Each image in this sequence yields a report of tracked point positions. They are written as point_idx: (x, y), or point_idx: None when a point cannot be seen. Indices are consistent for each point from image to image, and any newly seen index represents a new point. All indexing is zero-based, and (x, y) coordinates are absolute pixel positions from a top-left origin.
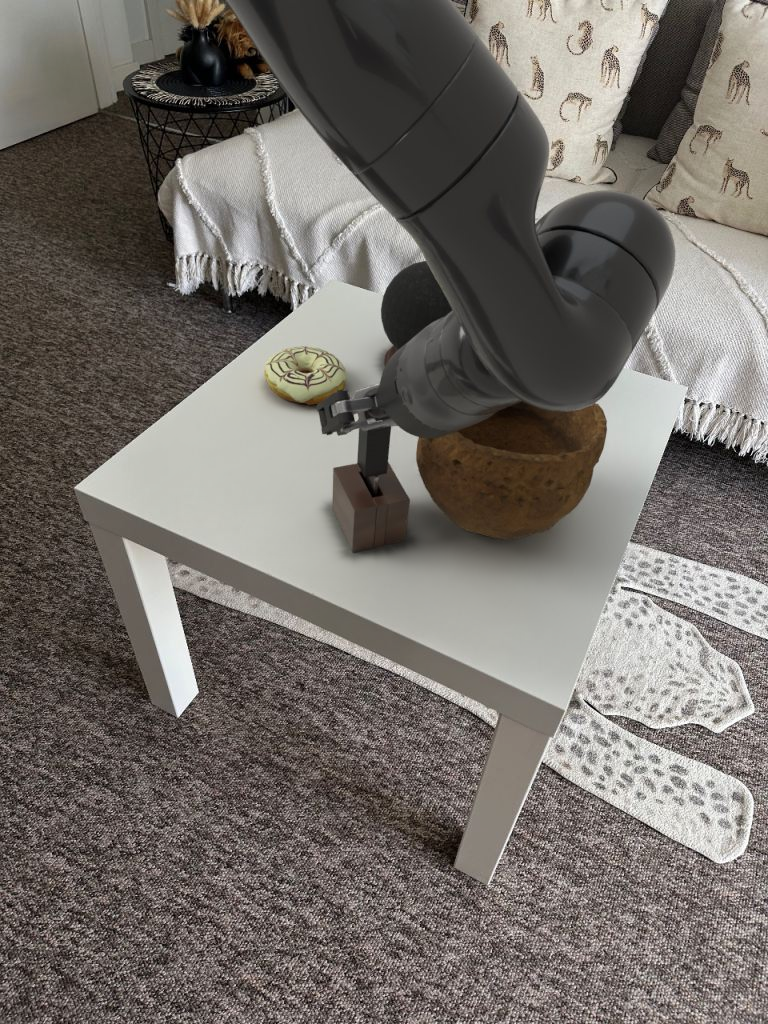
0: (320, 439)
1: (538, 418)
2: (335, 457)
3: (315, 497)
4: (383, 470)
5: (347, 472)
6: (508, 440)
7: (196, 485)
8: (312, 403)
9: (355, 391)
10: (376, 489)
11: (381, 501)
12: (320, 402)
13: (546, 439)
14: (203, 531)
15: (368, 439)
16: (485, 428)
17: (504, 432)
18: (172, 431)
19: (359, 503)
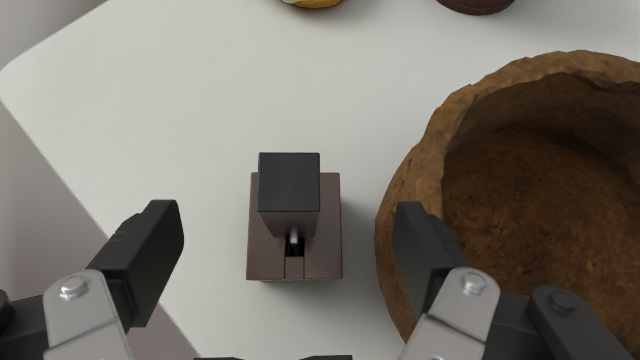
0: (291, 68)
1: (626, 179)
2: (299, 105)
3: (248, 168)
4: (307, 236)
5: None
6: (546, 177)
7: (112, 107)
8: (302, 6)
9: (43, 352)
10: (295, 246)
11: (296, 269)
12: (312, 7)
13: (615, 208)
14: (90, 188)
15: (267, 223)
16: (519, 150)
17: (547, 165)
18: (119, 9)
19: (259, 264)
